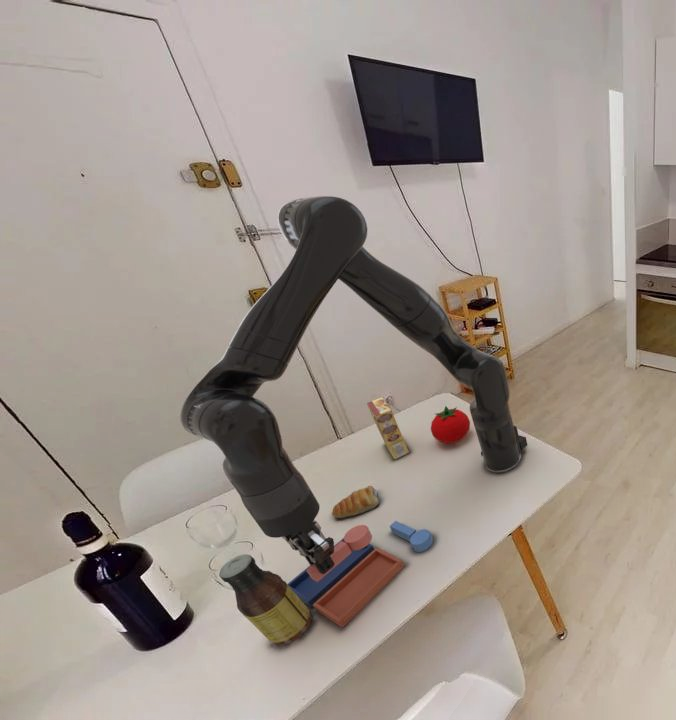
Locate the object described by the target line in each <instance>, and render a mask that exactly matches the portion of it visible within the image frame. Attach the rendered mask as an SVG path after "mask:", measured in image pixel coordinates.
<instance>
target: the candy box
mask: <svg viewBox="0 0 676 720" xmlns="http://www.w3.org/2000/svg"><path fill="white" fill-rule="evenodd" d="M366 405H367V407H368V409H369V410H368V411H369V412H370V414H371V416H372V418H373V421H374V423H375V425H376V428H377V430H378V431H379V434H380V436H381V438H382V440H383V442H384V444H385V447H386V448H387V450H388V451H389V453H390V455H391V456H392V458H393V459H394V460H397V459H399V458H401V457H403V456H406V455H407V454H409V453H410V451H409V448H408V446H407V444H406V442H405V439H404V437H403V435H402V432H401V430H400V427H399V425H398V422H397V420H396V417H395V415H394V413H393V411H392V409H391V407H390V406H389V405H388V403H387V402H386V401H385V399H384V398H383V397H379V398H376V399H374V400H371V401H367V402H366Z"/></svg>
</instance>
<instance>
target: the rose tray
mask: <svg viewBox="0 0 676 720" xmlns="http://www.w3.org/2000/svg"><path fill="white" fill-rule="evenodd" d="M402 560H403V559H402ZM402 560H401V559H400V558H398V557H396V556H395V555H392V554H390V553H388V552H386V551H384V550H383V549H380V548H379V547H376V548H374V550H373V551H372V552H371V553H370V554H369V555H368V556H367V557H365V558H364V559H363V560H362V561H361V562H360V563H359V564H358V565H357V566H355V567H354V568H353V569H352V570H351V571H350V572H349V573H348V574H346V575H345V576H344V577H343V578H342V579H341V580H340V581H339V582H338V583H336V584H335V585H334V586H333V587H332V588H331V589H330V590H329V591H328V592H326V593H325V594H324V595H323V596H322V597H321V598H320V599H319V600H317V601H316V602H315V603H314V604H313V608H314V610H315V611H316V612H317V613H319V614H320V615H322V616H323V617H325V618H327V619H328V620H330V621H331V622H332V623H334V624H336V625H337V626H339V627H340V628H342V629H343V628H344V627H345V626H347V624H348V623H349V622H350V621H351V620H352V619H353V618H354V617H356V615H357V614H358V613H359V612H360V611H362V609H363V608H365V606H366V605H367V604H368V603H369V602H370V601H371V600H373V598H375V596H376V595H377V594H378V593H380V591H381V590H382V589H384V588H385V587H386V586H387V584H388V583H390V582H391V580H393V578H395V577H396V575H397V574H399V573H400V572H401V570H403V569H404V567H405V564H404V562H403V561H402Z"/></svg>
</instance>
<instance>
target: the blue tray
mask: <svg viewBox="0 0 676 720" xmlns="http://www.w3.org/2000/svg"><path fill="white" fill-rule="evenodd" d="M341 541H343V542H345V541H344V537H343V538H342V539H340V540H339V541H338V542H337V543H336V544H334V547H335V546H336V545H337V544H338V543H339V542H341ZM374 549H375V548H374V546H373V545H372V544H371V543H369V544H368V545H367V546H365V547H364V548H362V549H360V550H356V551H352V550H351V552H352V553H351V554H350V555H348V556H347V557H346V558H345V559H344V560H343V561H342V562H340V563H339V564H338V565H337V566H336V567H335V568H333V569H332V570H331V571H330V572H329V573H328V574H326V575H325V576H324V577H323V578H322V579H321V580H319V581H318V582H316V581H314V580H313V579H312V578H311V577H310V576H309V574H308V573H307V571H306V570H307V569H308V568H309V567H310V566H311V565H310V564H309V566H308V567H306V568H305V569H304V570H303V571H301V572H300V573H299V574H297V575H296V576H295V577H294V578H293V579H292V580H290V581H289V582H288V583H287V584H288V585H289V587H290V588H291V589H292V590H293V591H294V593H295V594H296V595H297V596H298V597H299V598H300V600H301V601H302V602H303V603H304V604H305V605H306V606H308V607H309V608H311V609H313V608H314V607H313V604H314V603H315V602H316V601H317V600H319V599H320V598H321V597H322V596H323V595H324V594H325V593H326V592H328V591H329V590H330V589H331V588H332V587H333V586H334V585H335V584H336V583H338V582H339V581H340V580H341V579H342V578H343V577H344V576H345V575H346V574H348V573H349V572H350V571H351V570H352V569H353V568H354V567H355V566H357V565H358V564H359V563H360V562H361V561H362V560H363V559H364V558H365V557H367V556H368V555H369V554H370V553H371V552H372V551H373V550H374Z"/></svg>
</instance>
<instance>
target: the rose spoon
mask: <svg viewBox="0 0 676 720" xmlns="http://www.w3.org/2000/svg"><path fill="white" fill-rule="evenodd" d="M343 538H344V541H345V542H343V541H341V540H340V541H341V542H339V541H338V542H339V543H338V542H337V543H338V544H337V543H336V544H337V545H336V544H335V545H336V546H335V547H334V553H333V554H332V555H331V556H330V557H331V559H332V560H333V562H334V563H335V564H334V566H333V567H332V568H331V569H330V570H329V571H328V572H326V573H325V574H321V573H320V572H319V571H318V569H317V568H316V566H315V565H314V564H313V565H311V566H310V565H309V566H310V567H309V566H308V567H309V568H308V567H307V568H308V569H307V570H306V571H307V573H308V574H309V576H310V577H311V578H312V579H313V580H314V581H316V582H318V581H319V580H321V579H322V578H323V577H324V576H325V575H326V574H328V573H329V572H330V571H331V570H332V569H333V568H335V567H336V566H337V565H338V564H339V563H340V562H342V561H343V560H344V559H345V558H346V557H347V556H348V555H350V554H351V553H352V552H351V550H352V551H356V550H360V549H362V548H364V547H365V546H367V545H368V544H371V542H372V540H373V535H372V532H371V531H370V529H369V527H368V526H367V525H366V524H359V525H355V526H353V527H351V528H350V529H349V530H347V531H346V533H345V534H344V536H343Z"/></svg>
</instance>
